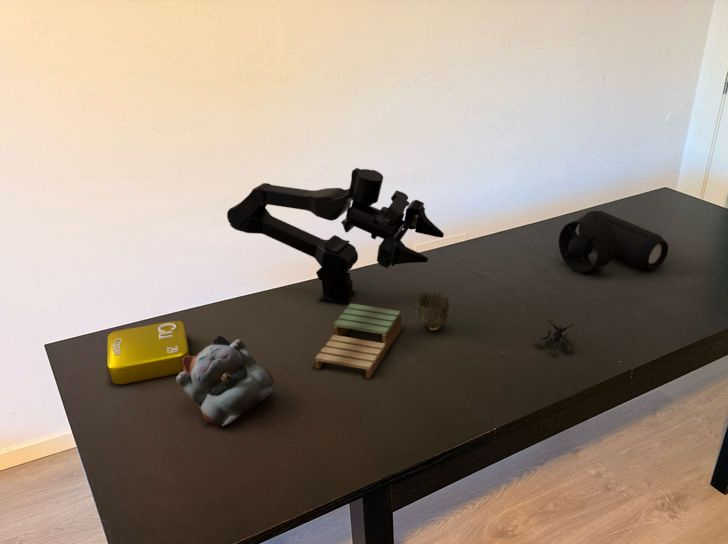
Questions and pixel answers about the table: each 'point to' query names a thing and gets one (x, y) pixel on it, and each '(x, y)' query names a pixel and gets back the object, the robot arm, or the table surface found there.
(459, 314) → the table surface
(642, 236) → the portable speaker
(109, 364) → the element tile
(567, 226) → the black round hollow piece
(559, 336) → the creature
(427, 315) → the ornate brown dome cover
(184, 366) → the lucky cat figurine
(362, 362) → the rack
